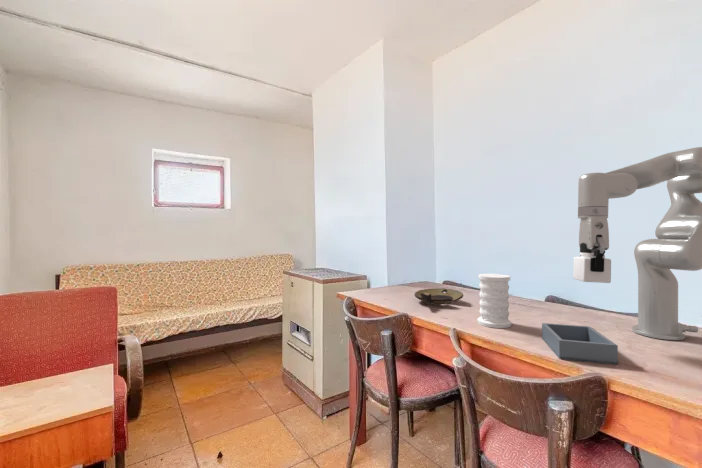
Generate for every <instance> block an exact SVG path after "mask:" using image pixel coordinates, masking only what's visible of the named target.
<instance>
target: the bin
mask: <svg viewBox="0 0 702 468" xmlns="http://www.w3.org/2000/svg"><path fill="white" fill-rule="evenodd" d="M541 339H542V341H544V343H545V344H546V345H547V346H548V348H550V350H551V351H552V352H553V353H554V354H555V356H556V357H557V358H558V359H559V360H567V361H576V362H586V363H595V364H596V363H598V364H607V365H615V366H618V365H619V364H618V363H619V361H618V359H619V358H618V357H619V356H618V355H619V353H618V351H619V350H618V349H619V345H617V344H616V343H615V342H613V341H612V340H611V339H609V338H607V337H606V336H605V335H603V334H602V333H600V332H599V331H597V330H596V329H594V328H593V327H592V326H588V325H577V324H576V325H575V324H562V323H546V322H541Z"/></svg>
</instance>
